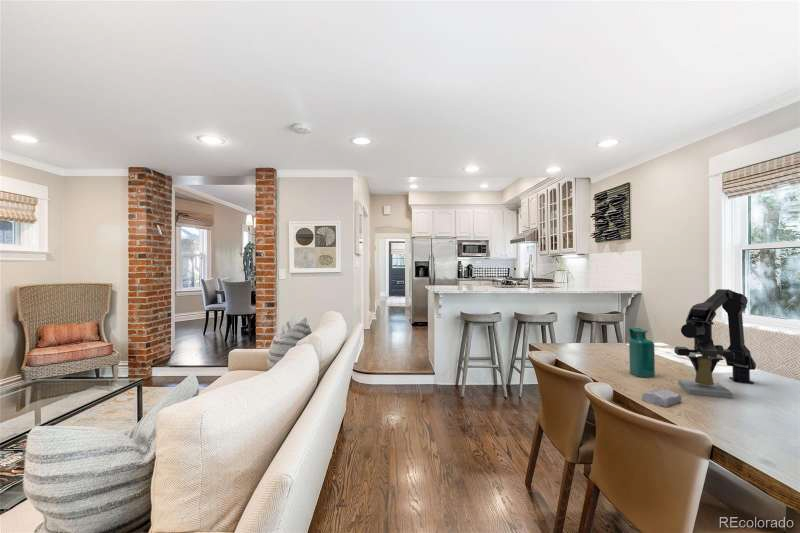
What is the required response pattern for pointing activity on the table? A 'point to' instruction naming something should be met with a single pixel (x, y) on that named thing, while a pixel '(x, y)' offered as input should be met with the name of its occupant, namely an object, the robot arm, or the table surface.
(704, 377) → the cork
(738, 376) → the robot arm
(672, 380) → the table surface
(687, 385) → the plinth
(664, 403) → the stone block
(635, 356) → the teal bottle
